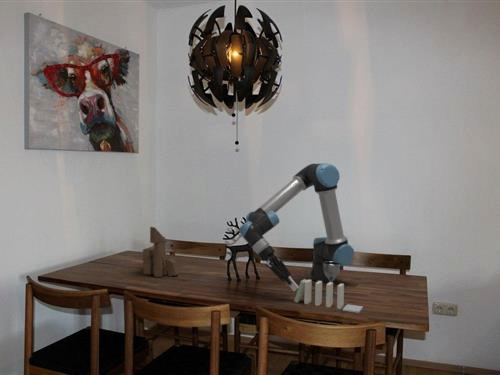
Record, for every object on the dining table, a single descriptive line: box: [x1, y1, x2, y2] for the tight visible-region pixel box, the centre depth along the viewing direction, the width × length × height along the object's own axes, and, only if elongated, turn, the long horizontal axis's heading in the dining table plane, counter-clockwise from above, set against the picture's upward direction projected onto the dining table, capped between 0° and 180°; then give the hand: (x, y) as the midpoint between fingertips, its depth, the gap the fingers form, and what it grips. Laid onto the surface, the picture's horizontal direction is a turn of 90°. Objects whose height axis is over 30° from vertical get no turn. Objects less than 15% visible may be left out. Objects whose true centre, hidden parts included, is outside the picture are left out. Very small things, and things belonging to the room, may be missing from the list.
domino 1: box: [293, 278, 308, 303], centre depth 209 cm, size 2×5×10 cm, turn 154°
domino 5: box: [336, 282, 345, 310], centre depth 201 cm, size 2×5×10 cm, turn 154°
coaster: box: [342, 303, 364, 314], centre depth 199 cm, size 8×7×1 cm
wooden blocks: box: [142, 226, 180, 278], centre depth 261 cm, size 24×20×28 cm
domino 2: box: [303, 279, 313, 305], centre depth 208 cm, size 2×5×10 cm, turn 154°
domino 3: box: [314, 281, 323, 307], centre depth 206 cm, size 2×5×10 cm, turn 154°
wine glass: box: [323, 261, 341, 296], centre depth 224 cm, size 8×8×15 cm
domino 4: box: [325, 281, 334, 308], centre depth 203 cm, size 2×5×10 cm, turn 154°
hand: (296, 289), depth 210 cm, fingers closed
